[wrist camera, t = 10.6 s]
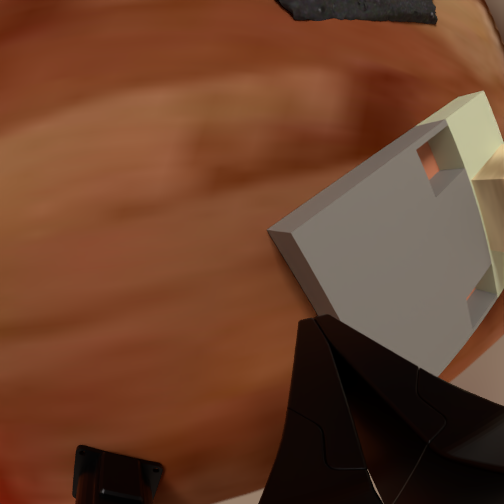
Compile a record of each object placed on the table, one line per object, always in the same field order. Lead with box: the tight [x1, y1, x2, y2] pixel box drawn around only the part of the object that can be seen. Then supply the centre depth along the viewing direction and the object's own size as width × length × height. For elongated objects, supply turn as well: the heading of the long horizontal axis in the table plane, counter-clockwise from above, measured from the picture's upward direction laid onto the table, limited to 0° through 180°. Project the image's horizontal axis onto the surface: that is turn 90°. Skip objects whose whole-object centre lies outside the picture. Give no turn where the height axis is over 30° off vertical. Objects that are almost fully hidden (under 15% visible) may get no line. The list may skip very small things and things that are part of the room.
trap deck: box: [267, 91, 504, 377], centre depth 23 cm, size 25×18×4 cm
